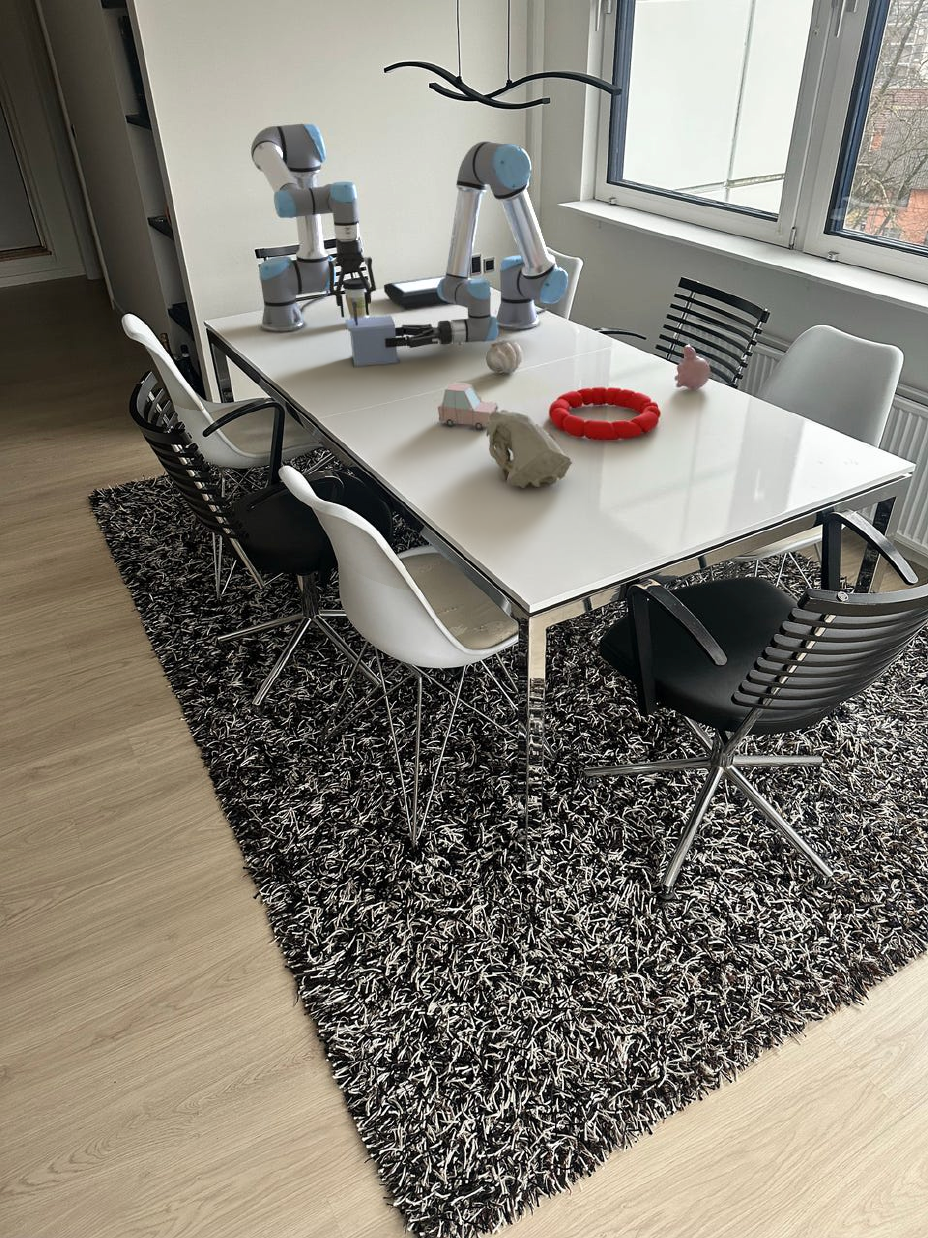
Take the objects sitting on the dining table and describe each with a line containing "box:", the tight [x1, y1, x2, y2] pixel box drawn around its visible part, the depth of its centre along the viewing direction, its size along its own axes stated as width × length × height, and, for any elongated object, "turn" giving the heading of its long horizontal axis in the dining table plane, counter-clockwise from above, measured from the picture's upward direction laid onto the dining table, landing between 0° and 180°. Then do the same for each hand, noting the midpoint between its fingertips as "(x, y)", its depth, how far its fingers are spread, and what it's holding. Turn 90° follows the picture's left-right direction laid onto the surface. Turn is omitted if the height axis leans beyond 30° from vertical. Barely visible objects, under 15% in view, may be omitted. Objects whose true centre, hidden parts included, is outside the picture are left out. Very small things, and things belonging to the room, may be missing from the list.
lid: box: [345, 298, 396, 333], centre depth 284 cm, size 15×10×8 cm
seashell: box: [485, 339, 523, 374], centre depth 276 cm, size 10×15×10 cm
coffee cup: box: [342, 277, 371, 319], centre depth 323 cm, size 10×10×15 cm
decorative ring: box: [548, 386, 661, 442], centre depth 242 cm, size 7×30×30 cm
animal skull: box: [485, 409, 573, 489], centre depth 216 cm, size 17×25×20 cm
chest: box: [349, 327, 399, 367], centre depth 290 cm, size 14×10×11 cm
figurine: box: [674, 344, 711, 390], centre depth 259 cm, size 9×11×12 cm
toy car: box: [437, 382, 499, 431], centre depth 243 cm, size 9×15×10 cm, turn 70°
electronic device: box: [383, 274, 470, 311], centre depth 349 cm, size 32×6×20 cm
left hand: (355, 314), depth 284 cm, fingers open, 7 cm apart
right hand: (383, 337), depth 290 cm, fingers closed on chest, 10 cm apart
